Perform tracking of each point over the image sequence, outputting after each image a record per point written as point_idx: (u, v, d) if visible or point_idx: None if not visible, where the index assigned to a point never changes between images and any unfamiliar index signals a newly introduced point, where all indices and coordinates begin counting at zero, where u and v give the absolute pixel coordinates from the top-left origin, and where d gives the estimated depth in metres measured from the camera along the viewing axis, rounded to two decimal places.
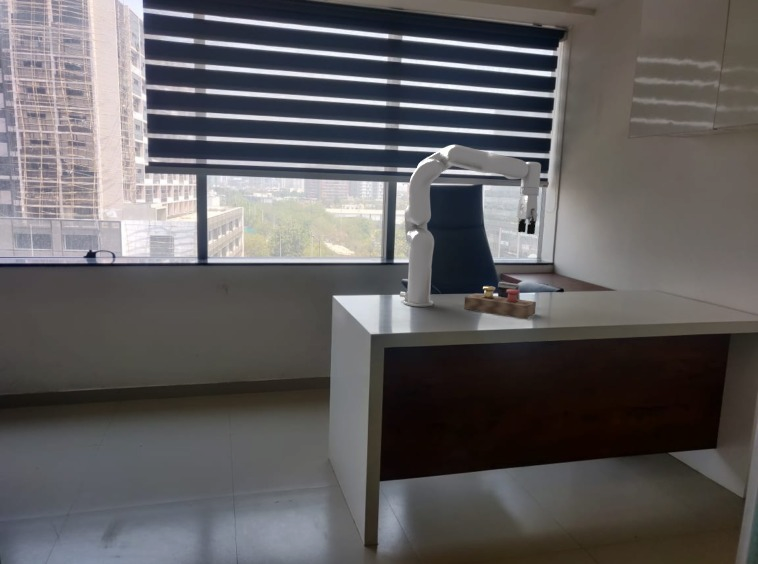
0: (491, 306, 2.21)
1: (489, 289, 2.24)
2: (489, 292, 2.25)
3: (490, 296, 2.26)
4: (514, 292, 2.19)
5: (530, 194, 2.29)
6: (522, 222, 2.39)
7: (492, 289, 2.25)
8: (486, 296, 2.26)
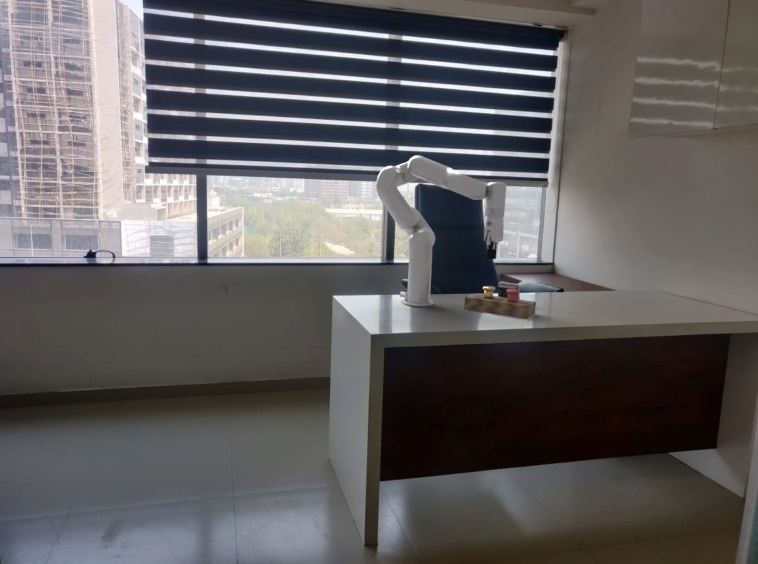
0: (491, 306, 2.21)
1: (489, 289, 2.24)
2: (489, 292, 2.25)
3: (490, 296, 2.26)
4: (514, 292, 2.19)
5: None
6: None
7: (492, 289, 2.25)
8: (486, 296, 2.26)
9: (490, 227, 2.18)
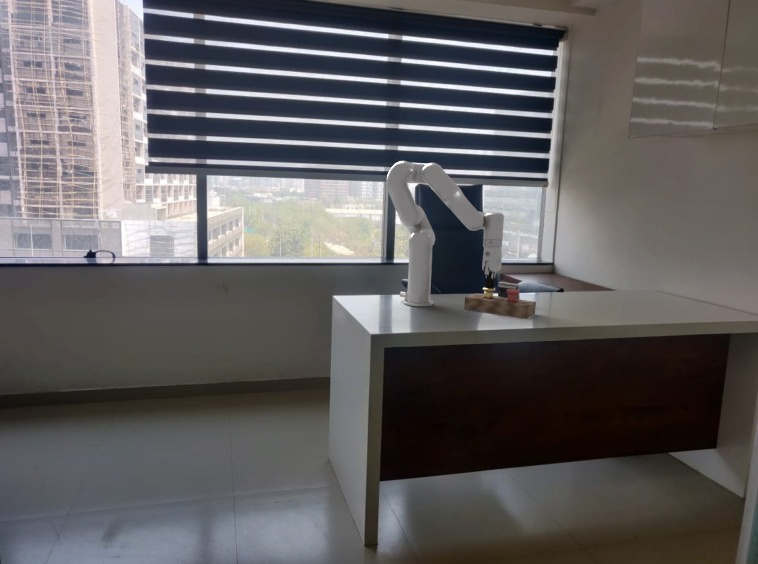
0: (491, 306, 2.21)
1: (489, 290, 2.24)
2: (489, 293, 2.25)
3: (490, 297, 2.26)
4: (514, 292, 2.19)
5: None
6: None
7: (492, 290, 2.25)
8: (486, 297, 2.26)
9: (488, 257, 2.20)
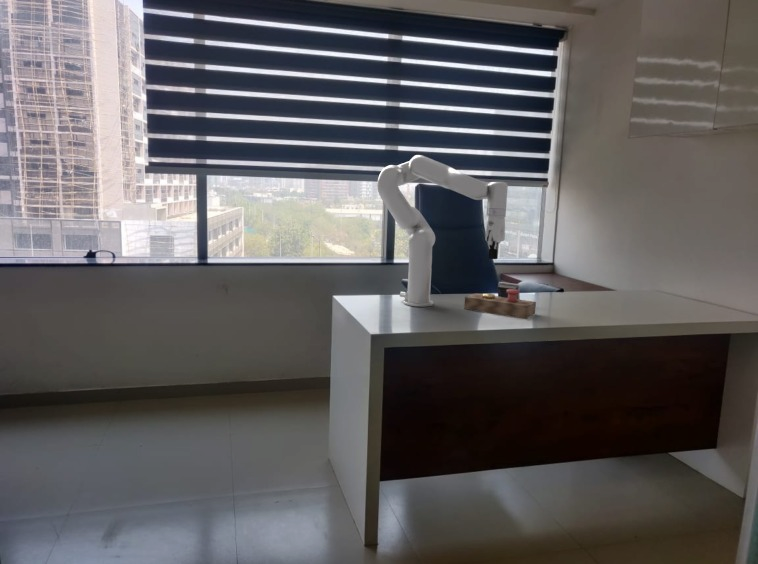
0: (491, 306, 2.21)
1: (488, 296, 2.25)
2: None
3: None
4: (514, 292, 2.19)
5: None
6: None
7: (491, 296, 2.25)
8: None
9: (491, 227, 2.18)
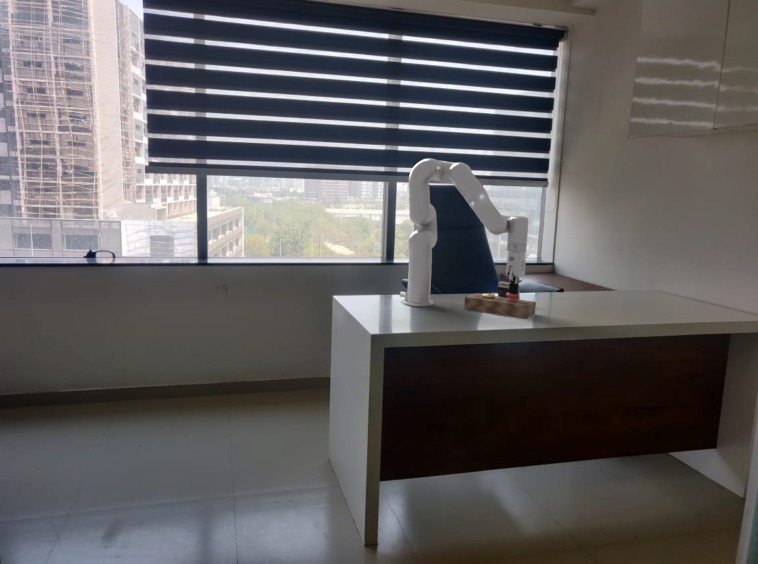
0: (491, 306, 2.21)
1: (488, 296, 2.25)
2: None
3: None
4: (514, 295, 2.19)
5: None
6: None
7: (491, 296, 2.25)
8: None
9: (512, 262, 2.15)
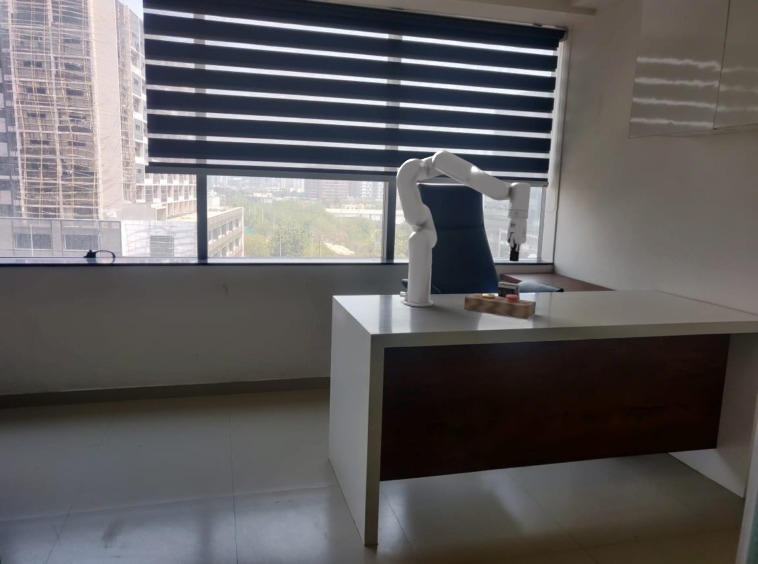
0: (491, 306, 2.21)
1: (488, 296, 2.25)
2: None
3: None
4: (514, 297, 2.19)
5: None
6: None
7: (491, 296, 2.25)
8: None
9: (514, 229, 2.13)
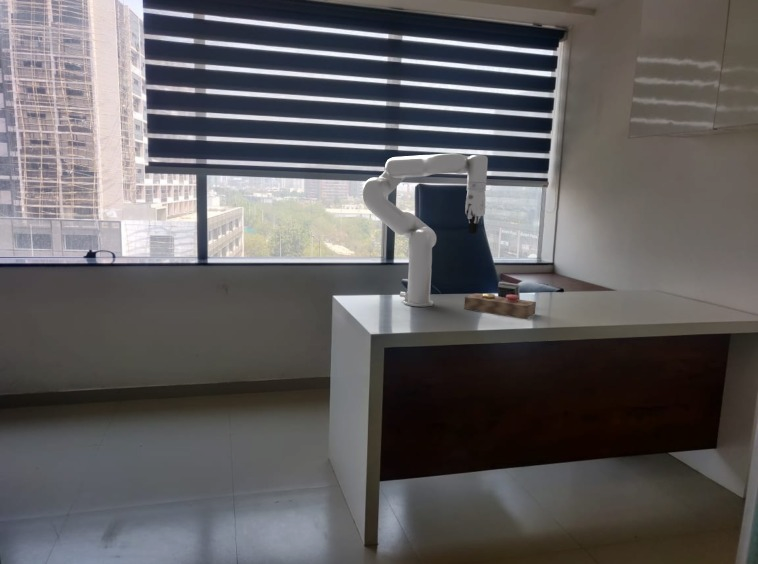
0: (491, 306, 2.21)
1: (488, 296, 2.25)
2: None
3: None
4: (514, 297, 2.19)
5: None
6: None
7: (491, 296, 2.25)
8: None
9: (471, 200, 2.17)
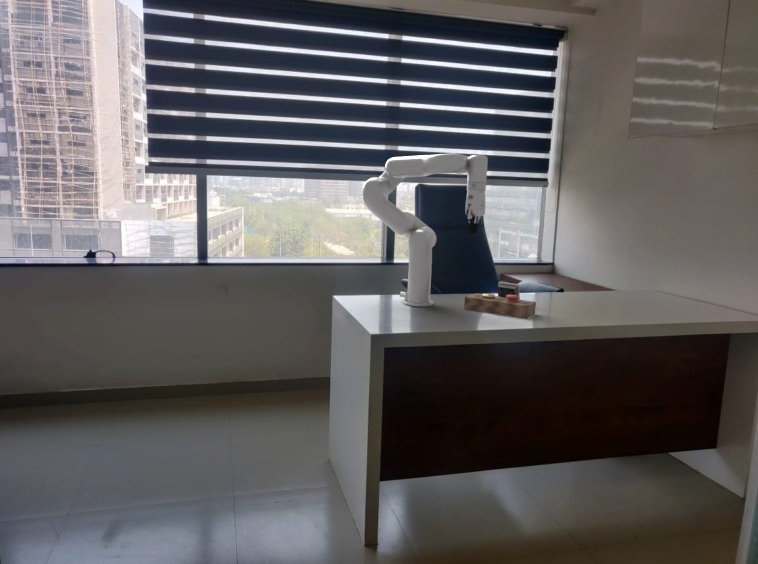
0: (491, 306, 2.21)
1: (488, 296, 2.25)
2: None
3: None
4: (514, 297, 2.19)
5: None
6: None
7: (491, 296, 2.25)
8: None
9: (471, 200, 2.17)
